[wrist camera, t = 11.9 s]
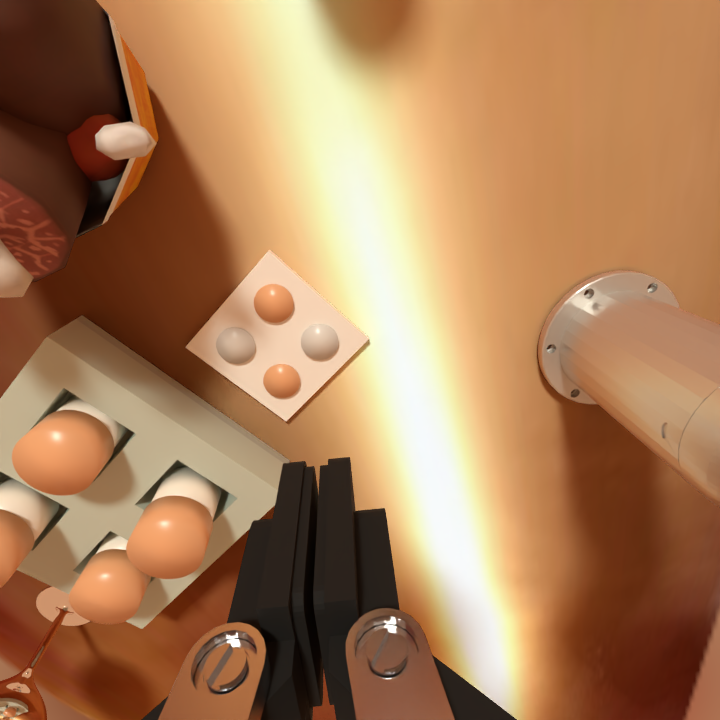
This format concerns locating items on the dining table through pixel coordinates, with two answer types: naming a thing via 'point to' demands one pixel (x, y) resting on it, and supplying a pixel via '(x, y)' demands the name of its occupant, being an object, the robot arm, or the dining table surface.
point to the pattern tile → (277, 337)
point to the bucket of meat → (64, 131)
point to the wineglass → (36, 661)
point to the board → (132, 455)
